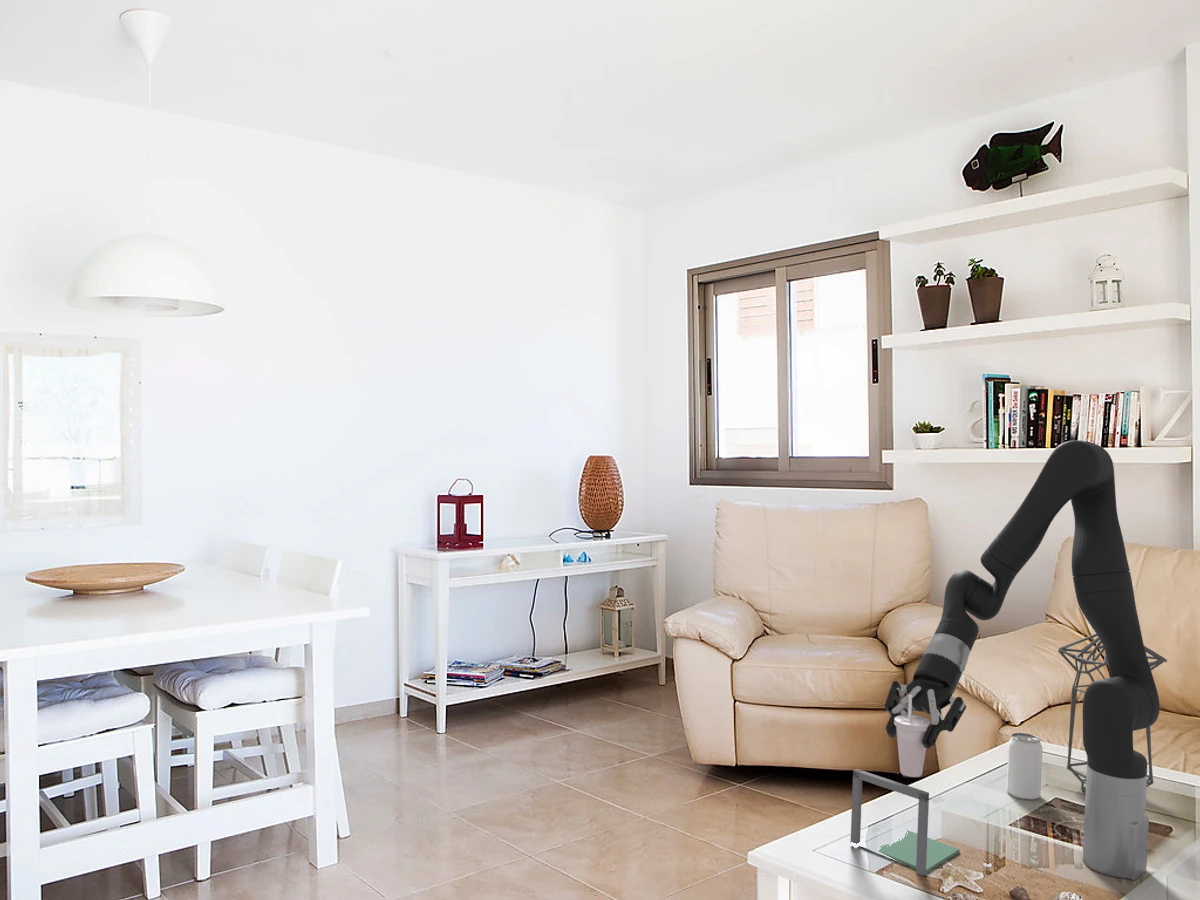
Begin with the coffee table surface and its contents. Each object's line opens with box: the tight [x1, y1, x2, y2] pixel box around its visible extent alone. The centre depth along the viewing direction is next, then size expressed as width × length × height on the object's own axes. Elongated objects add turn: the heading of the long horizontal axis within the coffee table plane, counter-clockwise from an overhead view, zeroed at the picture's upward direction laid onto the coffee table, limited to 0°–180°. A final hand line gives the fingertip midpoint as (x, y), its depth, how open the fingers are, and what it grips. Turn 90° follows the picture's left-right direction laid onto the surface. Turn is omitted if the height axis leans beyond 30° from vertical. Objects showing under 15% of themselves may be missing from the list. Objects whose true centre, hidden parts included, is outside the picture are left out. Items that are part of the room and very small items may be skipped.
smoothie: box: [894, 695, 932, 778], centre depth 171 cm, size 6×6×14 cm
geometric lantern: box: [1057, 633, 1168, 794], centre depth 199 cm, size 16×16×35 cm
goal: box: [850, 768, 960, 877], centre depth 171 cm, size 14×13×14 cm
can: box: [1006, 732, 1043, 801], centre depth 198 cm, size 6×6×12 cm
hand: (907, 740), depth 170 cm, fingers closed on smoothie, 6 cm apart
